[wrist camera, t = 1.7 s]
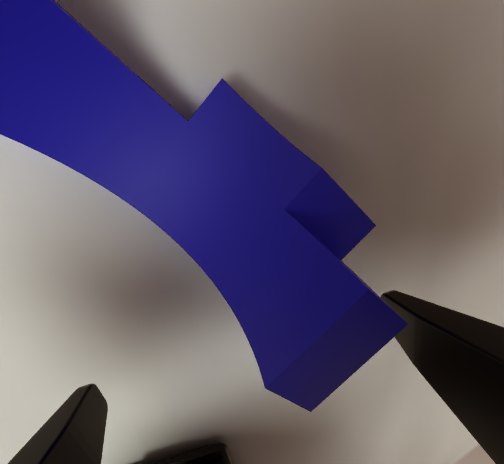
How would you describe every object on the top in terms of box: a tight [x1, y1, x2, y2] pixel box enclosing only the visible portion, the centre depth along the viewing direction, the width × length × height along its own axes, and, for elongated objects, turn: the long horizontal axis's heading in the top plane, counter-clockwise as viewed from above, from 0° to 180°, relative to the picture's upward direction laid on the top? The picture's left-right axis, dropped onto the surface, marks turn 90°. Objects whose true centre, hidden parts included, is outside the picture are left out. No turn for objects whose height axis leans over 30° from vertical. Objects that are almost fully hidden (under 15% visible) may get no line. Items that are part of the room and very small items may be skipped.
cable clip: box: [0, 0, 408, 412], centre depth 6 cm, size 12×4×6 cm, turn 47°
